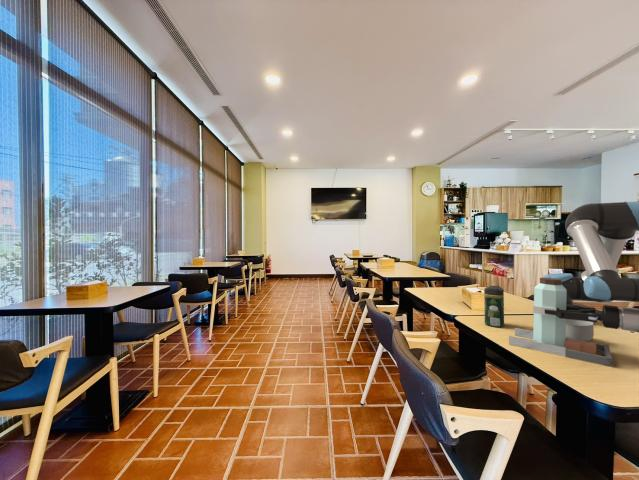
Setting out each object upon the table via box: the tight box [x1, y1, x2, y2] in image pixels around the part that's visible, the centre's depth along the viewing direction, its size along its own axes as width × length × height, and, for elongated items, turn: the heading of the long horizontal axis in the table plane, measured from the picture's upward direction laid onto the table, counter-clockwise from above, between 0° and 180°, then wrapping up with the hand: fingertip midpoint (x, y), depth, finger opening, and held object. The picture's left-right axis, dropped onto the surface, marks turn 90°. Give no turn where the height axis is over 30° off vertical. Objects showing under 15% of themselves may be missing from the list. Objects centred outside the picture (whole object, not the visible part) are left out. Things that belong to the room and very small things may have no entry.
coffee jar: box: [483, 285, 505, 328], centre depth 133 cm, size 10×8×19 cm
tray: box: [564, 338, 613, 367], centre depth 98 cm, size 11×16×2 cm
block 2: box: [580, 340, 597, 355], centre depth 98 cm, size 4×4×4 cm
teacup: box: [566, 319, 595, 342], centre depth 113 cm, size 14×11×8 cm
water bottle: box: [532, 277, 567, 347], centre depth 105 cm, size 10×10×25 cm
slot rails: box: [508, 327, 567, 357], centre depth 107 cm, size 16×15×3 cm
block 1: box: [564, 338, 580, 352], centre depth 100 cm, size 4×4×4 cm
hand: (535, 307), depth 108 cm, fingers closed on water bottle, 9 cm apart
